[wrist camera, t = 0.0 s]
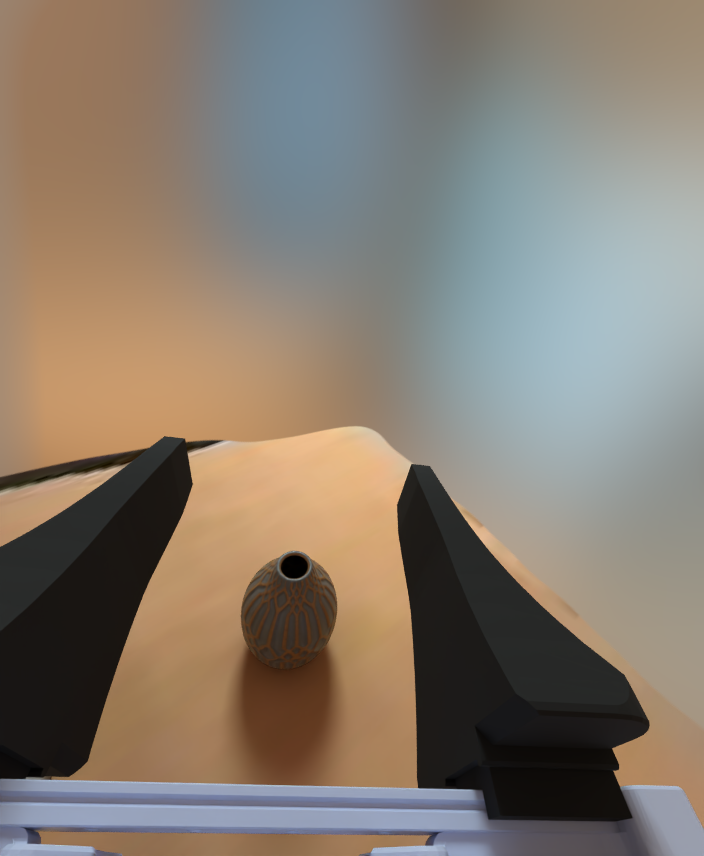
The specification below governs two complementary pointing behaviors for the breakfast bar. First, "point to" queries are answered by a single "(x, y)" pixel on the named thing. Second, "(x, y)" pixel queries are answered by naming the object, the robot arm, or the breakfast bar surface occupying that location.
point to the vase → (289, 611)
